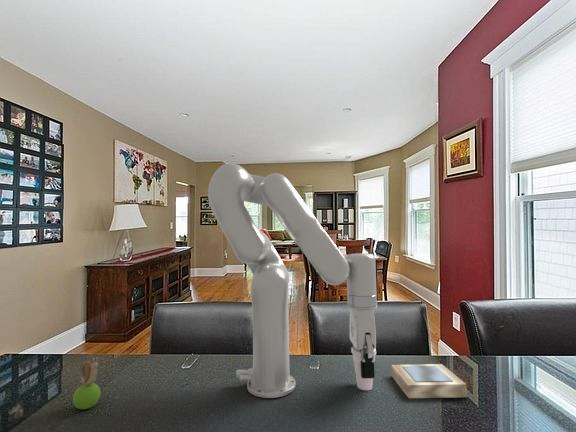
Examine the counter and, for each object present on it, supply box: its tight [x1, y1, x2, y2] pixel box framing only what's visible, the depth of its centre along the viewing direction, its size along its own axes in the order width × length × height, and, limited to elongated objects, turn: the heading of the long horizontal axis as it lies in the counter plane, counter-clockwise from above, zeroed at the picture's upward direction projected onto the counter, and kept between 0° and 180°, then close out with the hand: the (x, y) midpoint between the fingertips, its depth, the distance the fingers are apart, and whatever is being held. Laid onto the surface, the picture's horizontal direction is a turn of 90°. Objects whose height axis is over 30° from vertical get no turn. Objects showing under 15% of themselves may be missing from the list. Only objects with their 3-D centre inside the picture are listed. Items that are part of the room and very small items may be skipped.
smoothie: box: [350, 345, 377, 391], centre depth 81 cm, size 6×6×14 cm
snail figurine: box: [72, 356, 101, 410], centre depth 73 cm, size 5×6×12 cm
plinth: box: [391, 363, 468, 399], centre depth 81 cm, size 14×12×3 cm
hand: (364, 371), depth 81 cm, fingers closed on smoothie, 6 cm apart
